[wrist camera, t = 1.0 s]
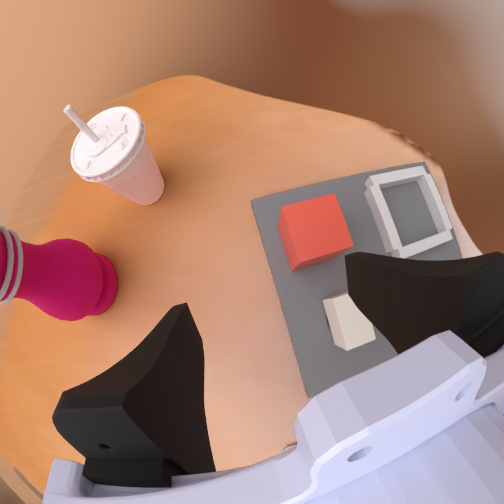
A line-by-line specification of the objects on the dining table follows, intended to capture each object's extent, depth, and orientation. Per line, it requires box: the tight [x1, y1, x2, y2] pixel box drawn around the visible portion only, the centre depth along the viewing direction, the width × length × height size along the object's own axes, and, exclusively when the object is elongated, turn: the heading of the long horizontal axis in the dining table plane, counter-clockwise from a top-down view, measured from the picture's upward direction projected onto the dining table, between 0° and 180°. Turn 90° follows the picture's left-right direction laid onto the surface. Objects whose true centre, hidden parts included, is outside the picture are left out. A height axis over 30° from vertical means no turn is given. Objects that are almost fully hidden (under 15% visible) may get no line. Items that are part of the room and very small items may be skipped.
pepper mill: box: [0, 226, 117, 321], centre depth 14 cm, size 7×7×20 cm
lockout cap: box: [277, 193, 354, 272], centre depth 21 cm, size 4×4×5 cm
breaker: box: [323, 291, 376, 351], centre depth 20 cm, size 4×2×3 cm, turn 16°
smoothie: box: [64, 105, 165, 206], centre depth 19 cm, size 6×6×14 cm
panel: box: [251, 162, 463, 398], centre depth 22 cm, size 18×20×3 cm
